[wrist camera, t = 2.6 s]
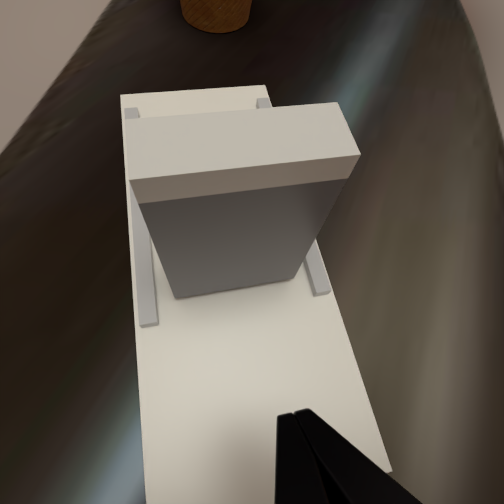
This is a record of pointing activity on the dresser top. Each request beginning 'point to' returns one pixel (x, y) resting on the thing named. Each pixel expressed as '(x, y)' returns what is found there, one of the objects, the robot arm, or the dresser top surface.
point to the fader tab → (237, 190)
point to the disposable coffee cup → (216, 14)
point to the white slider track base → (233, 356)
